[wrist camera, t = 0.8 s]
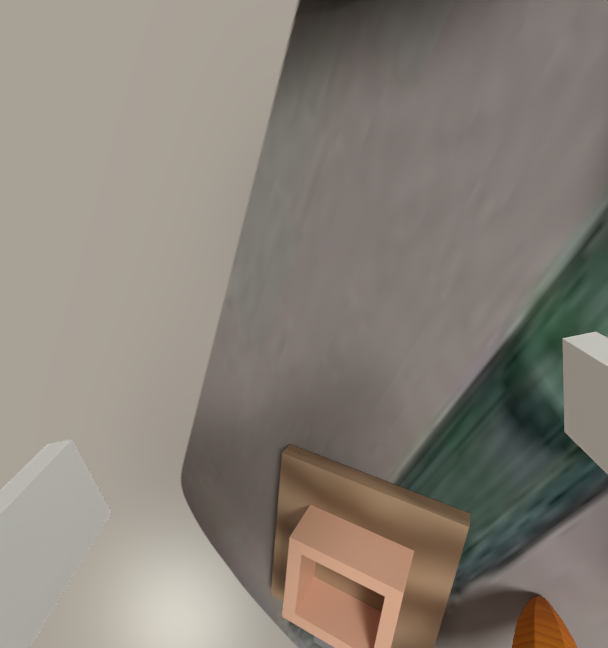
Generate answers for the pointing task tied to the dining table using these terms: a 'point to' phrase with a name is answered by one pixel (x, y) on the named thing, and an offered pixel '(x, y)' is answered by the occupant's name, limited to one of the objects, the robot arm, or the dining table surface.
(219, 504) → the dining table surface
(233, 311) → the dining table surface
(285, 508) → the walnut board
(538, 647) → the carrot
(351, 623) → the pink square planter box
